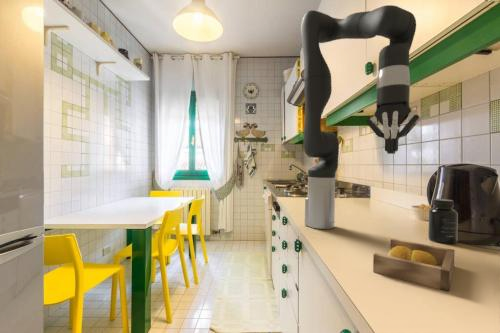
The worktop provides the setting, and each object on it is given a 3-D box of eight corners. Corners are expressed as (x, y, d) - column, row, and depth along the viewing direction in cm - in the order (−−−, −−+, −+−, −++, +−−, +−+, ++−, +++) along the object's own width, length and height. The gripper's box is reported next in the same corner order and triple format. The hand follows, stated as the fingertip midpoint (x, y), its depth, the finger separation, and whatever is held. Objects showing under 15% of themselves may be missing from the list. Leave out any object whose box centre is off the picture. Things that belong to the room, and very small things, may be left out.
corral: (373, 271, 53) (373, 254, 53) (391, 253, 65) (391, 238, 65) (448, 291, 45) (449, 271, 45) (454, 266, 57) (454, 249, 57)
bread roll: (435, 278, 51) (436, 257, 51) (384, 266, 56) (385, 248, 56) (437, 265, 57) (438, 247, 57) (392, 256, 63) (392, 239, 63)
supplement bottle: (423, 237, 80) (424, 197, 80) (447, 238, 79) (448, 198, 79) (437, 244, 73) (437, 200, 73) (463, 245, 72) (464, 201, 72)
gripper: (425, 85, 67) (423, 153, 67) (370, 94, 76) (369, 154, 76) (420, 78, 61) (418, 152, 61) (361, 88, 70) (360, 153, 70)
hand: (391, 153), depth 69 cm, fingers closed
